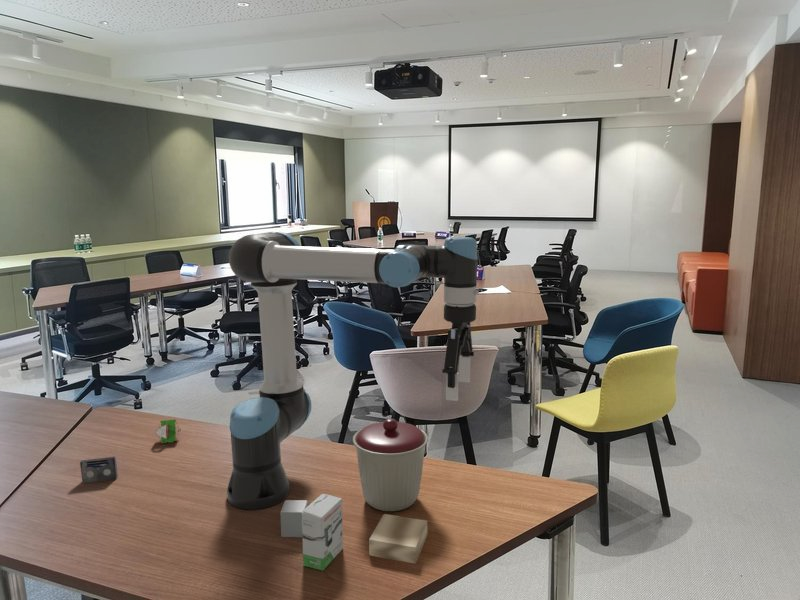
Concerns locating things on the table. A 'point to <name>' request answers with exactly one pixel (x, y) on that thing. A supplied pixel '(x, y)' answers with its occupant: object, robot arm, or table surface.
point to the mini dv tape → (98, 469)
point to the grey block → (292, 518)
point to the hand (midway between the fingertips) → (458, 390)
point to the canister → (390, 463)
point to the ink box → (322, 531)
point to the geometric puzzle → (167, 431)
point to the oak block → (398, 538)
